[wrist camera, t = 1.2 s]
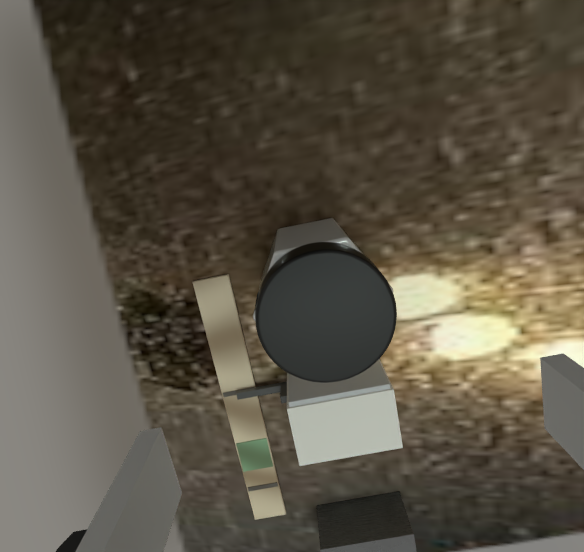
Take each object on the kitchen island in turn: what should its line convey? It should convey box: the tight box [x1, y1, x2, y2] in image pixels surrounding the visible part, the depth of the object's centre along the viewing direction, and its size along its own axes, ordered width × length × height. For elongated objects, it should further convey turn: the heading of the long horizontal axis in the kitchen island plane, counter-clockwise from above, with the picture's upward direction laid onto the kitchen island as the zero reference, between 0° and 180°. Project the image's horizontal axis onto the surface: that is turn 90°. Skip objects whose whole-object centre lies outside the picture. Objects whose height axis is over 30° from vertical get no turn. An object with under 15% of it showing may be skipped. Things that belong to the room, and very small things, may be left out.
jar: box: [253, 218, 397, 383], centre depth 31 cm, size 9×8×12 cm
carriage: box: [236, 359, 403, 466], centre depth 37 cm, size 5×13×6 cm, turn 101°
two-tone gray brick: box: [317, 492, 416, 552], centre depth 41 cm, size 2×8×5 cm, turn 101°
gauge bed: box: [193, 274, 286, 520], centre depth 40 cm, size 24×3×1 cm, turn 11°
